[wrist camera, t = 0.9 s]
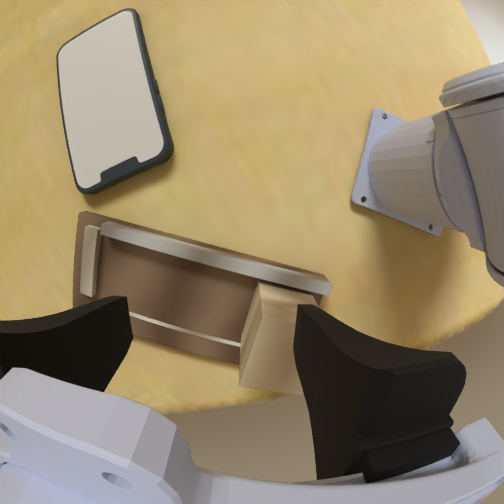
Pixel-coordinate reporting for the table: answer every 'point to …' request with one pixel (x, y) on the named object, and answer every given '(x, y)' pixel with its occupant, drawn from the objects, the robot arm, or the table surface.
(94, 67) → the smartphone
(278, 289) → the block
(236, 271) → the board
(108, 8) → the table surface
